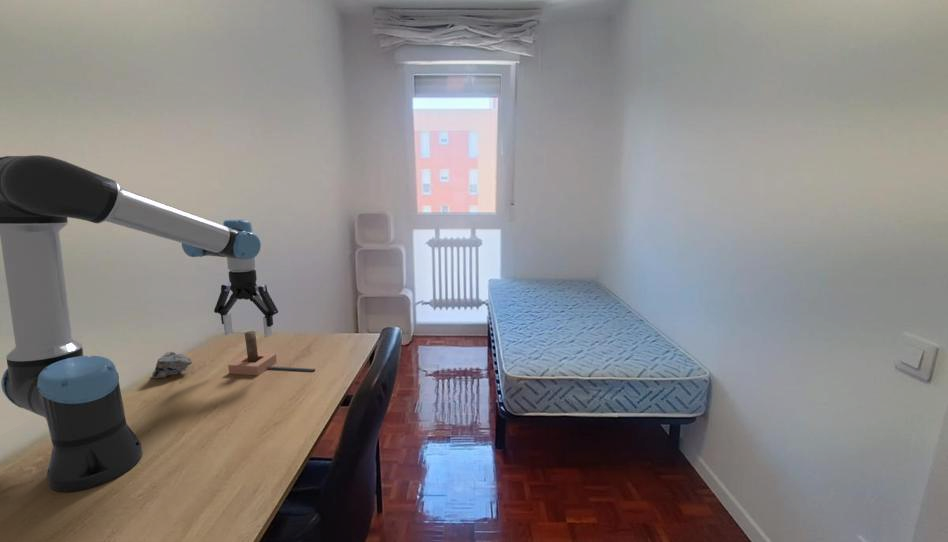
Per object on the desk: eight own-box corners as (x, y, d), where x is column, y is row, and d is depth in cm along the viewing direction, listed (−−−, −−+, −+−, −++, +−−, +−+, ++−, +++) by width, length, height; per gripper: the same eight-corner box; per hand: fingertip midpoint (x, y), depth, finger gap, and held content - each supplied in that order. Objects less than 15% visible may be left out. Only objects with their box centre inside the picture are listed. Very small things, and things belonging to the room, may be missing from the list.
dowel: (255, 369, 138) (251, 334, 135) (246, 369, 138) (242, 334, 136) (261, 365, 141) (257, 331, 138) (252, 365, 141) (248, 331, 139)
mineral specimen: (174, 385, 138) (167, 390, 129) (150, 371, 136) (141, 375, 127) (196, 360, 142) (191, 362, 132) (173, 346, 139) (166, 348, 130)
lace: (313, 371, 136) (313, 369, 136) (267, 369, 138) (267, 367, 138) (315, 370, 137) (315, 368, 137) (268, 368, 139) (268, 366, 139)
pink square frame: (258, 375, 134) (257, 366, 133) (229, 373, 135) (228, 364, 134) (276, 362, 144) (275, 353, 143) (249, 360, 145) (248, 352, 144)
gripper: (286, 268, 135) (291, 332, 139) (214, 266, 138) (220, 329, 142) (272, 273, 127) (278, 340, 131) (196, 270, 130) (204, 336, 134)
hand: (248, 335), depth 137 cm, fingers open, 13 cm apart
